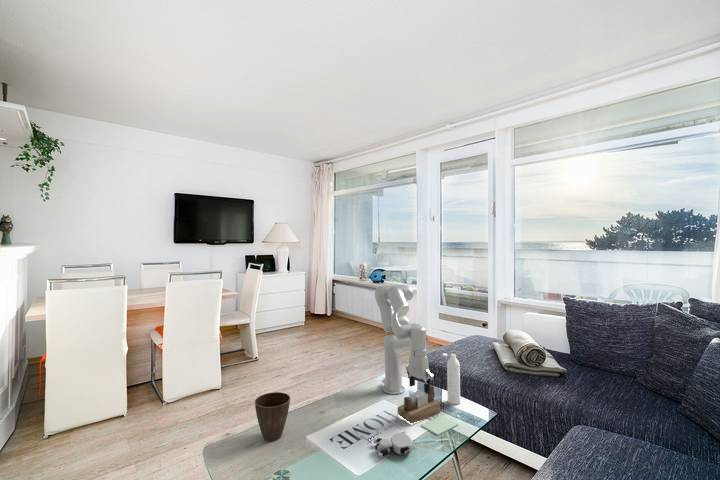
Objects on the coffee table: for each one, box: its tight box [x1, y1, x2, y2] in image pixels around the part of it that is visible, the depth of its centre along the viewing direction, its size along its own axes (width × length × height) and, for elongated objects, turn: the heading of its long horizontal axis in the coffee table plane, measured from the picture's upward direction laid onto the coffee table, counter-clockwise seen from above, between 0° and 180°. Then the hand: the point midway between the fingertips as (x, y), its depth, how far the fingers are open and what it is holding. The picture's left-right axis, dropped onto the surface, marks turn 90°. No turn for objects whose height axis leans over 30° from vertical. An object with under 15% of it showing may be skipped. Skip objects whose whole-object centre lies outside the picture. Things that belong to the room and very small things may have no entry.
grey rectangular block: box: [409, 390, 428, 409], centre depth 165 cm, size 5×7×5 cm
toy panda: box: [373, 430, 415, 458], centre depth 136 cm, size 12×4×15 cm
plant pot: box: [254, 391, 291, 442], centre depth 147 cm, size 15×15×16 cm
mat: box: [420, 415, 459, 436], centre depth 155 cm, size 10×14×1 cm
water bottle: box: [442, 352, 461, 405], centre depth 179 cm, size 9×6×25 cm
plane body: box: [397, 384, 441, 423], centre depth 165 cm, size 9×20×12 cm, turn 127°
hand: (419, 388), depth 164 cm, fingers open, 9 cm apart
